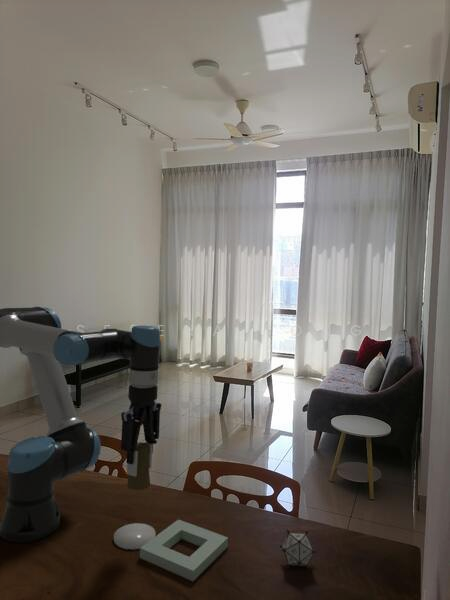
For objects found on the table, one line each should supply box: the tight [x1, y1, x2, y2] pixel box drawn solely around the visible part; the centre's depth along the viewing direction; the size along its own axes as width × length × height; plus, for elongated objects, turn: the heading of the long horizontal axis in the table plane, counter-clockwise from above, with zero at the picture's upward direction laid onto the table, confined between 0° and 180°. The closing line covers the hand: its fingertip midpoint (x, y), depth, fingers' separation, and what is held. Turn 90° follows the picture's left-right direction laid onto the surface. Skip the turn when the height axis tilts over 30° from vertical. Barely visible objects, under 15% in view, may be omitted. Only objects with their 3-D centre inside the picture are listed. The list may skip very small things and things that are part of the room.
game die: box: [279, 529, 317, 570], centre depth 108 cm, size 9×8×10 cm
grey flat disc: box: [113, 522, 157, 551], centre depth 118 cm, size 11×11×1 cm
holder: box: [139, 519, 229, 582], centre depth 112 cm, size 16×16×2 cm
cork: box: [126, 442, 151, 491], centre depth 117 cm, size 6×6×11 cm
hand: (139, 470), depth 117 cm, fingers closed on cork, 5 cm apart
